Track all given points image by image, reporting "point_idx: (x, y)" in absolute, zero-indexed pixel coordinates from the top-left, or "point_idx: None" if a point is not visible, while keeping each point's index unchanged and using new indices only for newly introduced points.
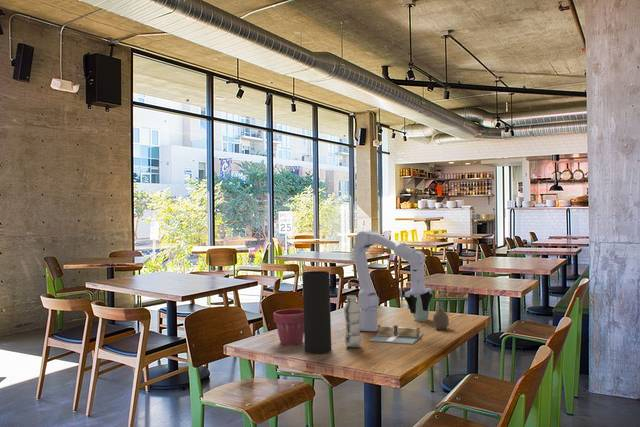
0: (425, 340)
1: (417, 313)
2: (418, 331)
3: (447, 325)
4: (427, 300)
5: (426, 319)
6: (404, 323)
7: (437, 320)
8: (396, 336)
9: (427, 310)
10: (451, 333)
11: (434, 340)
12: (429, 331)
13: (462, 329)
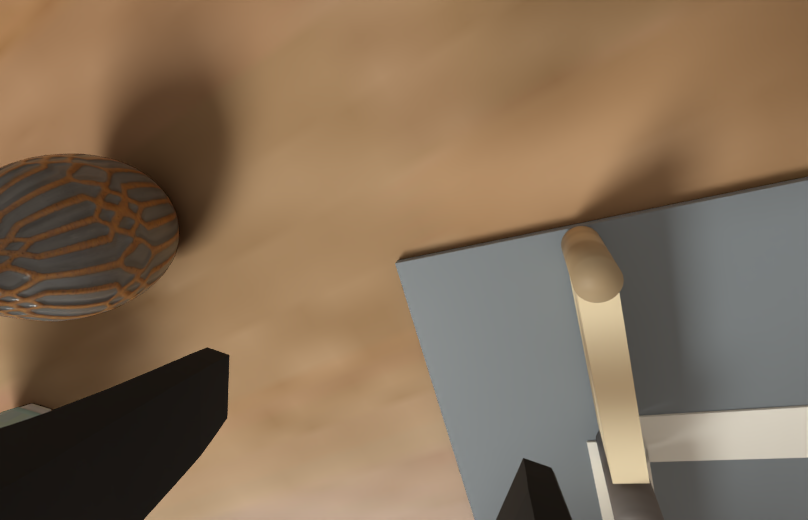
0: (657, 116)
1: None
2: (606, 248)
3: (99, 156)
4: (8, 505)
5: (33, 409)
6: (191, 495)
7: (127, 244)
8: (662, 424)
9: (205, 351)
10: (219, 39)
11: (610, 20)
12: (278, 259)
13: (40, 36)
